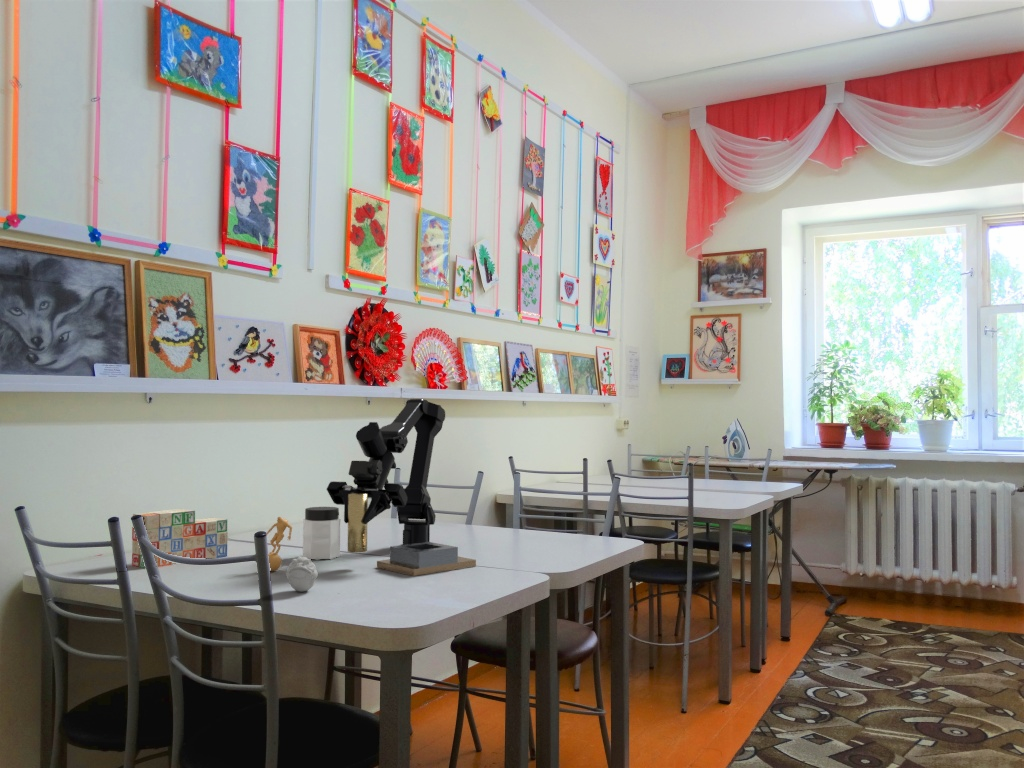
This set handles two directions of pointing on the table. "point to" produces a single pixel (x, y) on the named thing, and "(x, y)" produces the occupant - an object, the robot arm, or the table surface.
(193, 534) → the stack of blocks
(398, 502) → the robot arm
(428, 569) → the jig
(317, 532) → the jar
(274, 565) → the figurine
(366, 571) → the table surface
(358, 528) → the cylinder
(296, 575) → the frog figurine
